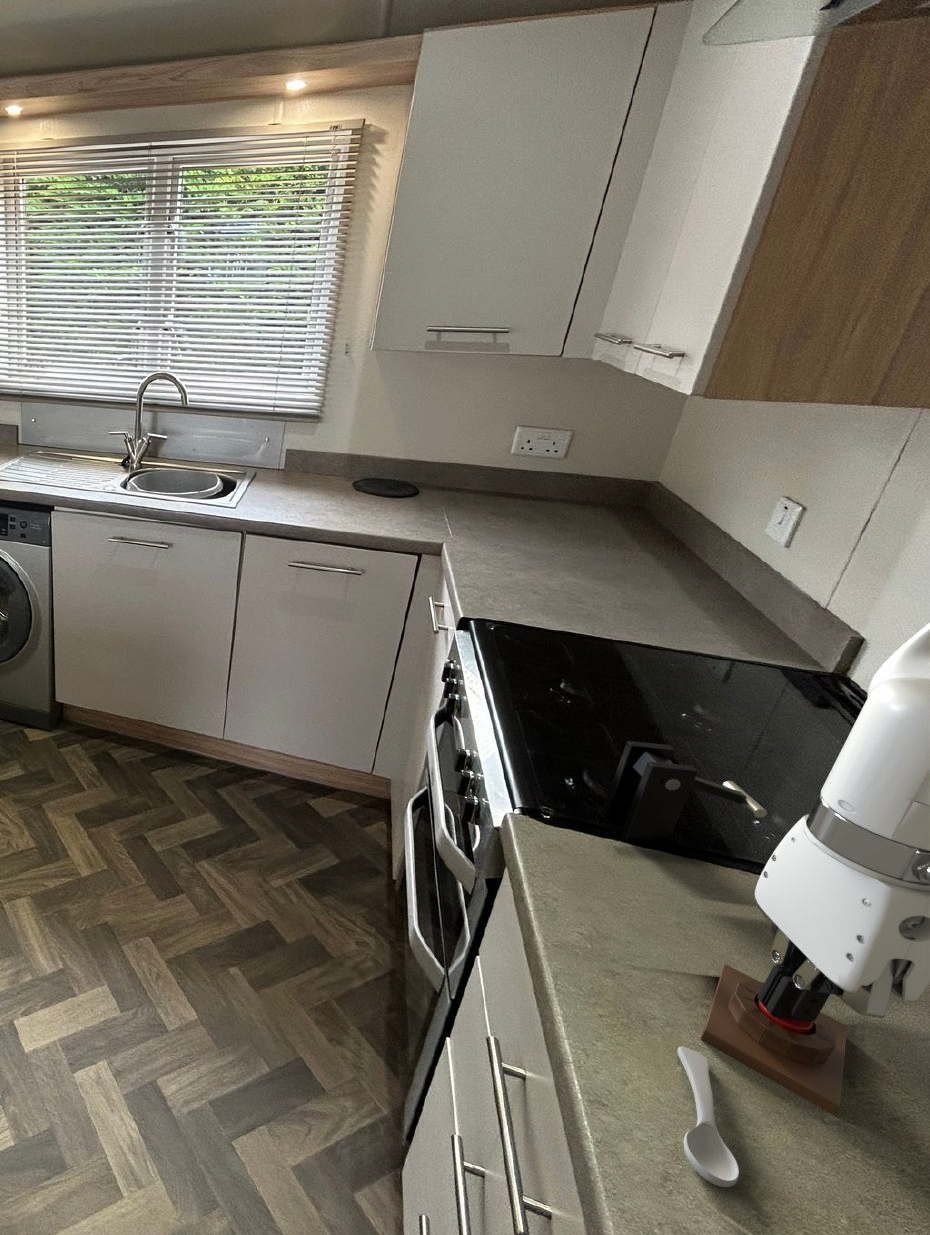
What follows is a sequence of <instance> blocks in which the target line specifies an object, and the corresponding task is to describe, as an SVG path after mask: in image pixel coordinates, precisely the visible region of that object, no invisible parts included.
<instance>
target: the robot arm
mask: <svg viewBox="0 0 930 1235" xmlns="http://www.w3.org/2000/svg"><path fill="white" fill-rule="evenodd" d="M754 899H755V901H756V903H757V907H758V909H759V911H760V913H761V914H762V915H763V917H764V918H765V920H766V921H767V923H768V924H769V926H770V931H771V934H772V938H773V942H772V945H771V948H770V952H769V954H770V956H769V957H770V958H771V961H772V962H773V963H774V965H773V966H772V968H771V970H770V972H769V974H768V975H767V977H766V979H765V981H764V982H763V983H764V985H763V986H762V988H761V990H760V992H759V994H758V996H757V998H758V999H759V1001H760V1002H761V1003H762V1004H763V1005H766V1006H767V1010H768V1012H769V1013H770V1014H771V1015H772V1016H773V1017H778V1018H785V1019H791V1020H798V1021H805V1022H813V1021H815V1020H816V1018H817V1016H818V1015H819V1013H820V1012H821V1011H822V1010H823V1008H824V1006H825V1004H826V1003H827V1001H828V999H829V997H830V996H831V995H833V996H836V997H838V998H839V999H840V1001H841V1002H843V1003H844V1004H846V1005H847V1006H848V1007H849V1008H851V1009H852V1010H853V1011H855V1012H856V1013H857V1014H859V1015H861V1016H866V1017H873V1018H880V1019H883V1018H885V1017H886V1014H887V1011H888V1007H889V1001H890V997H891V993H892V994H893V995H894V996H895V997H897V998H899V999H901V1001H905V1002H909V1003H910V1002H912V1003H913V1002H916V1001H917V1000H918V999H919V998H920V997H921V996H922V994H923V993H924V991H925V990H926V989H927V987H928V986H929V983H930V622H929V623H926V625H925V626H923V627H922V628H921V629H920V630H918V632H916V633H914V635H912V636H911V637H910V638H909V639H908V640H906V641H905V642H904V643H903V644H902V645H901V646H899V647H898V648H897V649H896V650H895V651H894V652H893V653H892V654H891V655H890V656H889V657H888V658H887V659H886V660H885V661H884V662H883V663H882V664H881V665H880V667H879V668H878V670H877V671H876V672H875V673H874V675H873V677H872V678H871V681H870V682H869V685H868V689H867V699H866V700H865V703H864V704H863V707H862V709H861V710H860V712H859V714H858V716H857V718H856V720H855V722H854V725H852V728H851V730H850V732H849V734H848V736H847V738H846V739H845V742H844V744H843V746H842V748H841V750H840V752H839V754H838V756H837V758H836V760H835V762H834V764H833V766H832V768H831V770H830V772H829V774H828V776H827V778H826V780H825V781H824V784H823V786H822V788H821V790H820V792H819V794H818V796H817V798H816V799H815V801H814V803H813V806H812V808H811V810H810V811H809V813H808V814H804V815H803V816H802V817H801V818H799V820H798V821H797V822H796V823H795V824H794V825H793V826H792V827H791V828H790V830H789V831H788V832H787V833H786V834H785V835H784V837H783V838H782V839H781V841H780V842H779V843H778V845H777V846H776V847H775V849H774V851H773V853H772V854H771V856H770V857H769V859H768V860H767V862H766V864H765V866H764V868H763V869H762V871H761V874H760V876H759V877H758V881H757V883H756V886H755V890H754Z"/></svg>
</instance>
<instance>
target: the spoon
mask: <svg viewBox="0 0 930 1235" xmlns="http://www.w3.org/2000/svg"><path fill="white" fill-rule="evenodd" d="M677 1055H678V1058H679V1060H680V1063H681V1064H682V1065H683V1068H684V1070H685V1072H686V1076H687V1077H688V1080H689V1082H690V1087H691V1090H692V1092H693V1096H694V1101H695V1107H696V1116H697V1117H696V1118H697V1121H696V1125H695V1127H694V1128H692V1129H690V1130H688V1131H687V1132H686V1133H685V1135H684V1136H683V1141H682V1142H683V1150H684V1153H685V1156H686V1158H687V1160H688V1162H689V1163H690V1165H691V1166H692V1168H693V1169H694V1170H695V1171H696V1172H697V1174H698V1175H700V1176H701V1177H702V1178H703V1179H705V1180H706V1181H708V1182H709V1183H711V1184H712V1185H714V1186H718V1187H721V1188H729V1187H733V1186H735V1185H736V1184H737V1182H738V1180H739V1177H740V1170H739V1169H740V1168H739V1165H738V1162H737V1160H736V1158H735V1156H734V1155H733V1153H732V1152H731V1150H730V1149H729V1147H728V1146H727V1145H726V1144H725V1142H724V1141H723V1139H722V1137H721V1135H720V1133H719V1131H718V1127H717V1123H716V1114H715V1112H716V1111H715V1104H714V1094H713V1088H712V1083H711V1078H710V1063H709V1060H708V1058H707V1057H706V1056H704V1055H703V1054H701V1053H699V1052H697V1051H695V1050H693V1049H691V1048H688V1047H686V1046H679V1047H678V1048H677Z"/></svg>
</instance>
